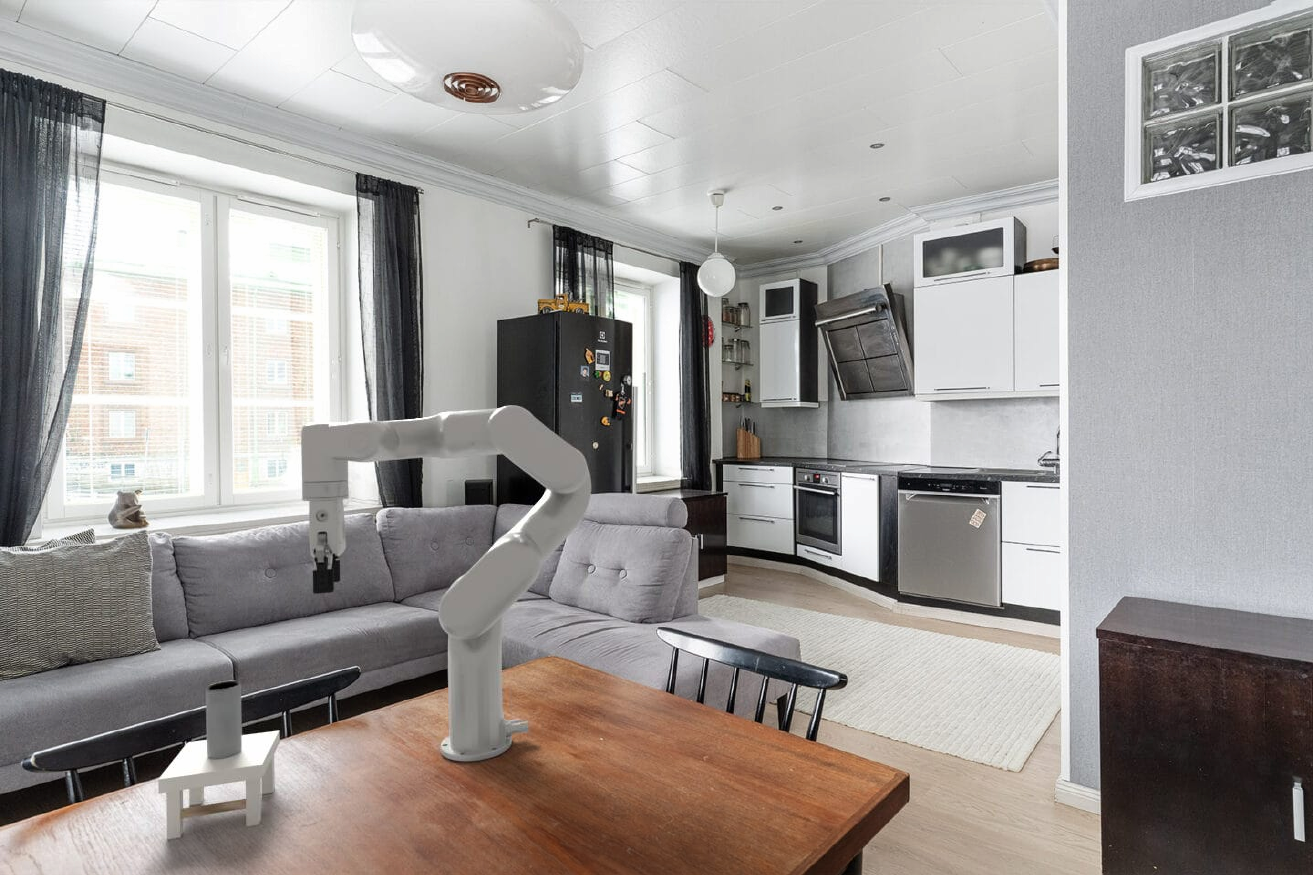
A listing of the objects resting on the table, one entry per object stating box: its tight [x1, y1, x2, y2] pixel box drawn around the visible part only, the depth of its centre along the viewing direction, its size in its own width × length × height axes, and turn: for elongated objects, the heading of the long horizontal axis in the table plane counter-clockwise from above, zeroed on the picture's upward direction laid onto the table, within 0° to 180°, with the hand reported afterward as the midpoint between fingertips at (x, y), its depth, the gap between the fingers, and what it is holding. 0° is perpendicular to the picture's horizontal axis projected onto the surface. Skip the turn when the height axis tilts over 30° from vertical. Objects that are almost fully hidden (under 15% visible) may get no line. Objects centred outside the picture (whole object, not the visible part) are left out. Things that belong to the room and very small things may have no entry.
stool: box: [157, 730, 281, 841], centre depth 108 cm, size 13×13×9 cm
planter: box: [205, 680, 243, 759], centre depth 108 cm, size 4×4×10 cm
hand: (327, 587), depth 126 cm, fingers open, 9 cm apart
